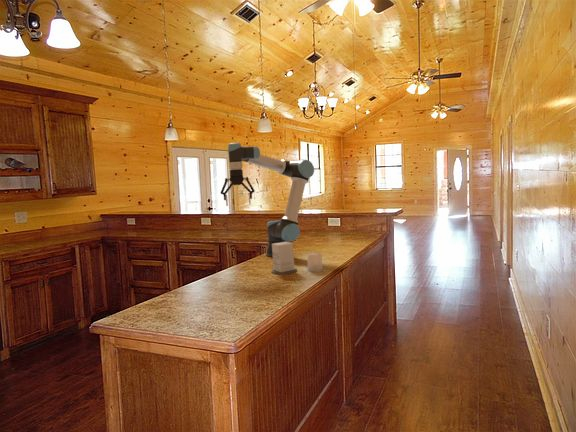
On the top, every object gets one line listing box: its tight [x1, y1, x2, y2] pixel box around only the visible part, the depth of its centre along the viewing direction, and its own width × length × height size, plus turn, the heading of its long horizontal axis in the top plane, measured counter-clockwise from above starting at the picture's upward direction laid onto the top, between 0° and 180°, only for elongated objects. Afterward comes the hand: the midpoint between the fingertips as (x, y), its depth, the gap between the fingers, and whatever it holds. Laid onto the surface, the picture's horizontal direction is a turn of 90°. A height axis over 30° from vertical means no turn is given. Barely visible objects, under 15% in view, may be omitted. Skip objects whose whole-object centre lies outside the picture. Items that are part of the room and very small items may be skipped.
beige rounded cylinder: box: [306, 252, 324, 273], centre depth 233 cm, size 8×8×9 cm
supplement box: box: [272, 241, 295, 272], centre depth 235 cm, size 9×9×15 cm
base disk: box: [271, 267, 298, 275], centre depth 236 cm, size 14×14×1 cm
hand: (238, 205), depth 255 cm, fingers open, 13 cm apart
